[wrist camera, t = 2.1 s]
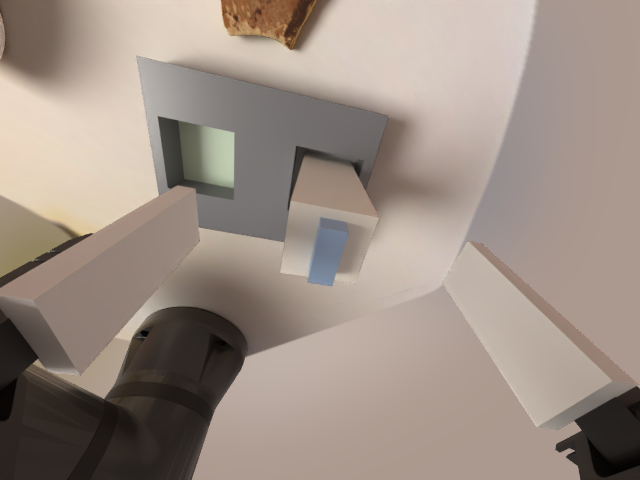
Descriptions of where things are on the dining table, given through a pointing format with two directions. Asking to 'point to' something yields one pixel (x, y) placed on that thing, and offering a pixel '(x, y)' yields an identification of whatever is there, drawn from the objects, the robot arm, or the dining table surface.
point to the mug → (2, 36)
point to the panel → (245, 143)
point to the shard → (267, 18)
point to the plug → (328, 222)
